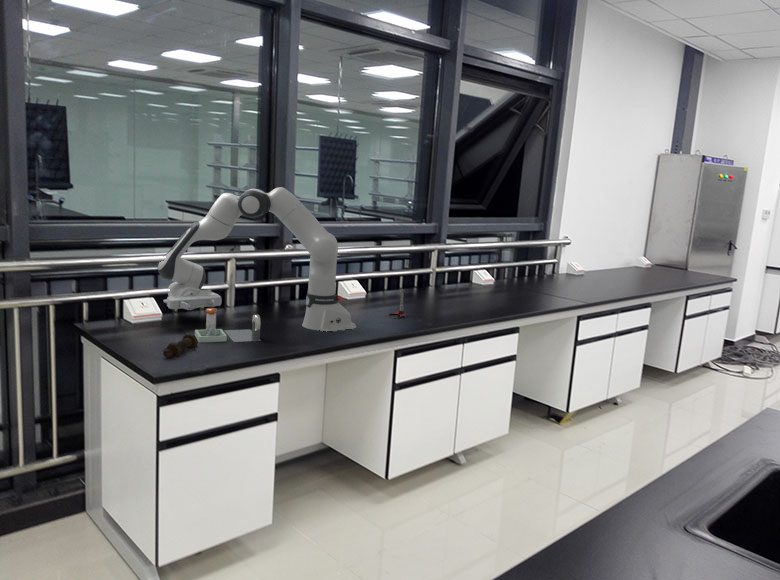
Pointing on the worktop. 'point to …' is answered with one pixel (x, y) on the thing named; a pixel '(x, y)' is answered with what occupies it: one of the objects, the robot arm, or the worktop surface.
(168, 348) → the dark brown lumpy piece
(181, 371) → the worktop surface
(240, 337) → the base
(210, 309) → the lock pin
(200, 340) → the tray
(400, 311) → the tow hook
